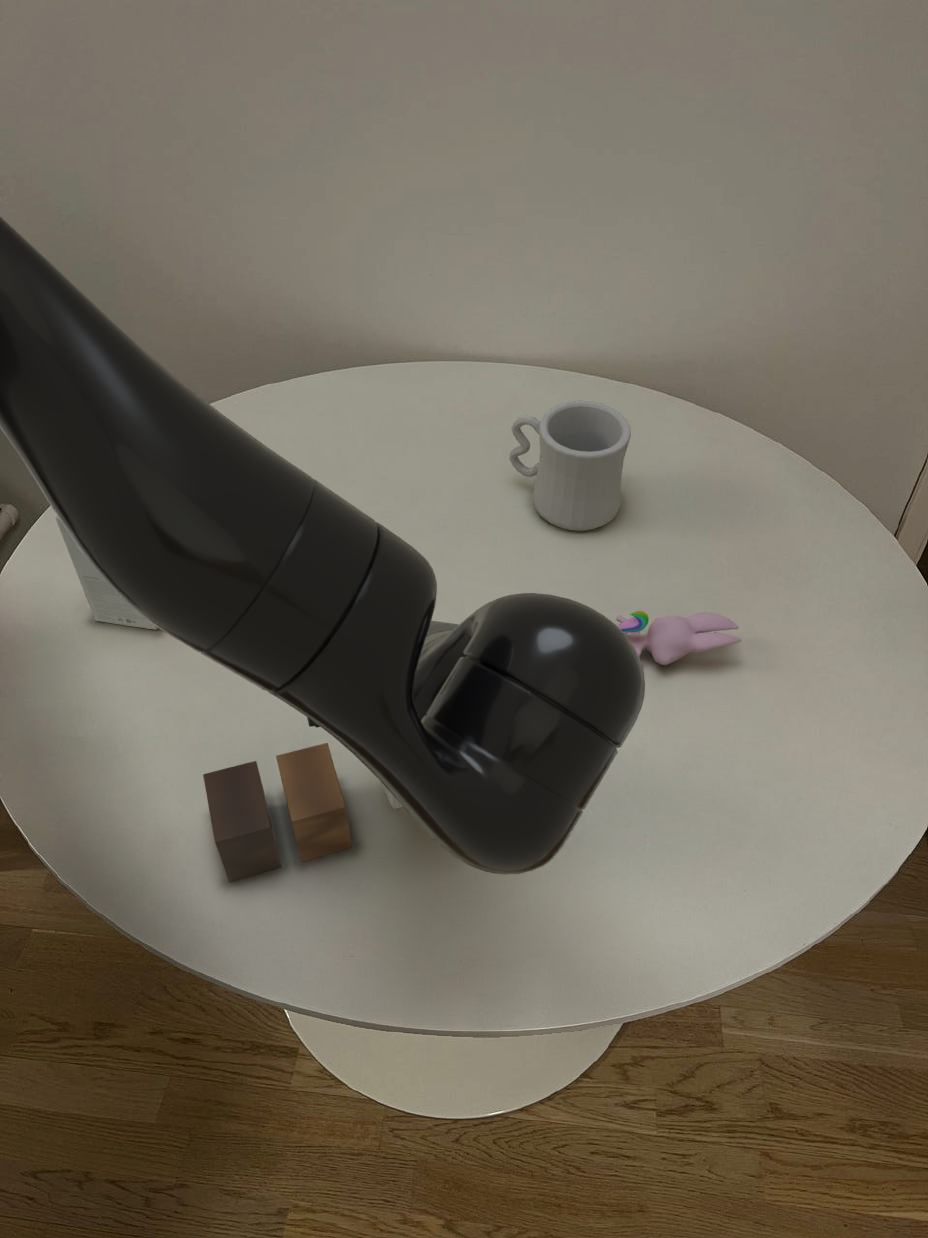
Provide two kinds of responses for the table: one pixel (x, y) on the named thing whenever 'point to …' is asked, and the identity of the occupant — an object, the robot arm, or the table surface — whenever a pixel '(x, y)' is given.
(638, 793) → the table surface
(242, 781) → the walnut block
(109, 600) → the small box
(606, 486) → the mug
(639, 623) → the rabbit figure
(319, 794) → the oak block
